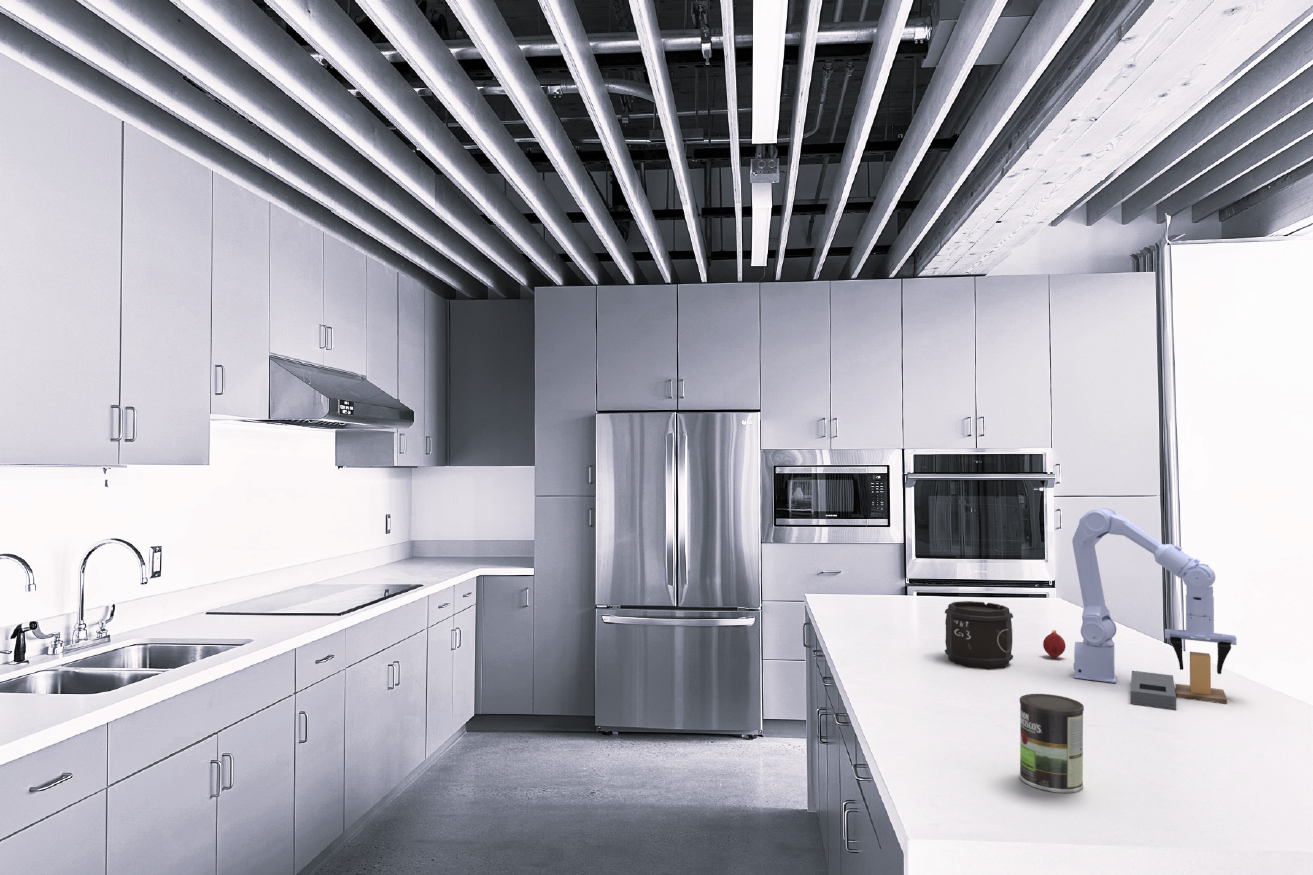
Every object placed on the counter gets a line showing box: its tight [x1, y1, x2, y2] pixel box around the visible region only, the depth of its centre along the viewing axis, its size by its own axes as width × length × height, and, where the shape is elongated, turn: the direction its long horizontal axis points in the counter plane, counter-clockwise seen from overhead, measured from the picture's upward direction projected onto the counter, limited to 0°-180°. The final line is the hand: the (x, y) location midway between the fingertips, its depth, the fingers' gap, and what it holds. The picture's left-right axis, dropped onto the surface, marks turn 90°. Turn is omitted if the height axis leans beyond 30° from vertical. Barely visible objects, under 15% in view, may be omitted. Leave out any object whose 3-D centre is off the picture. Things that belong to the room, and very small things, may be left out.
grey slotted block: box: [1130, 670, 1177, 711], centre depth 203 cm, size 9×22×3 cm, turn 150°
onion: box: [1042, 629, 1067, 659], centre depth 240 cm, size 6×6×8 cm
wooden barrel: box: [944, 600, 1014, 670], centre depth 235 cm, size 18×18×16 cm
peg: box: [1189, 651, 1212, 695], centre depth 203 cm, size 4×4×9 cm
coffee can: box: [1019, 693, 1085, 794], centre depth 148 cm, size 10×10×14 cm
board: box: [1174, 683, 1228, 705], centre depth 203 cm, size 10×10×1 cm
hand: (1200, 670), depth 203 cm, fingers open, 7 cm apart
